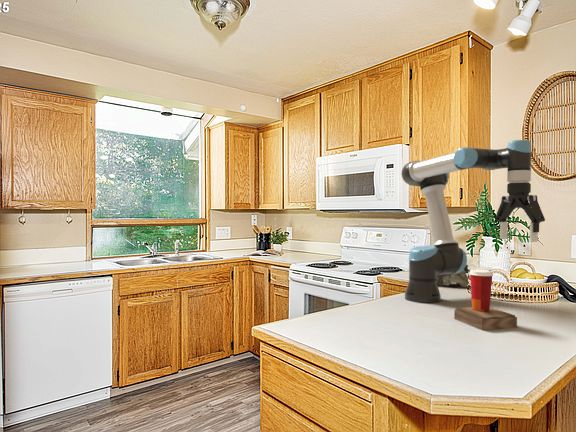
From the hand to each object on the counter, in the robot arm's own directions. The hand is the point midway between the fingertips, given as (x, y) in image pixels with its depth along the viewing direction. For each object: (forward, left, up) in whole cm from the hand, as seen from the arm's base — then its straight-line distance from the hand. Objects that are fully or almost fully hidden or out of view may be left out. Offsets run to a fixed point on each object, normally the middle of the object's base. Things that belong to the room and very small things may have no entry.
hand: (518, 240), depth 146 cm
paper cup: (-14, -8, -25) cm, 30 cm away
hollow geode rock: (-20, +61, -29) cm, 70 cm away
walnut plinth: (-13, -11, -29) cm, 33 cm away
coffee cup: (-2, +44, -29) cm, 53 cm away
